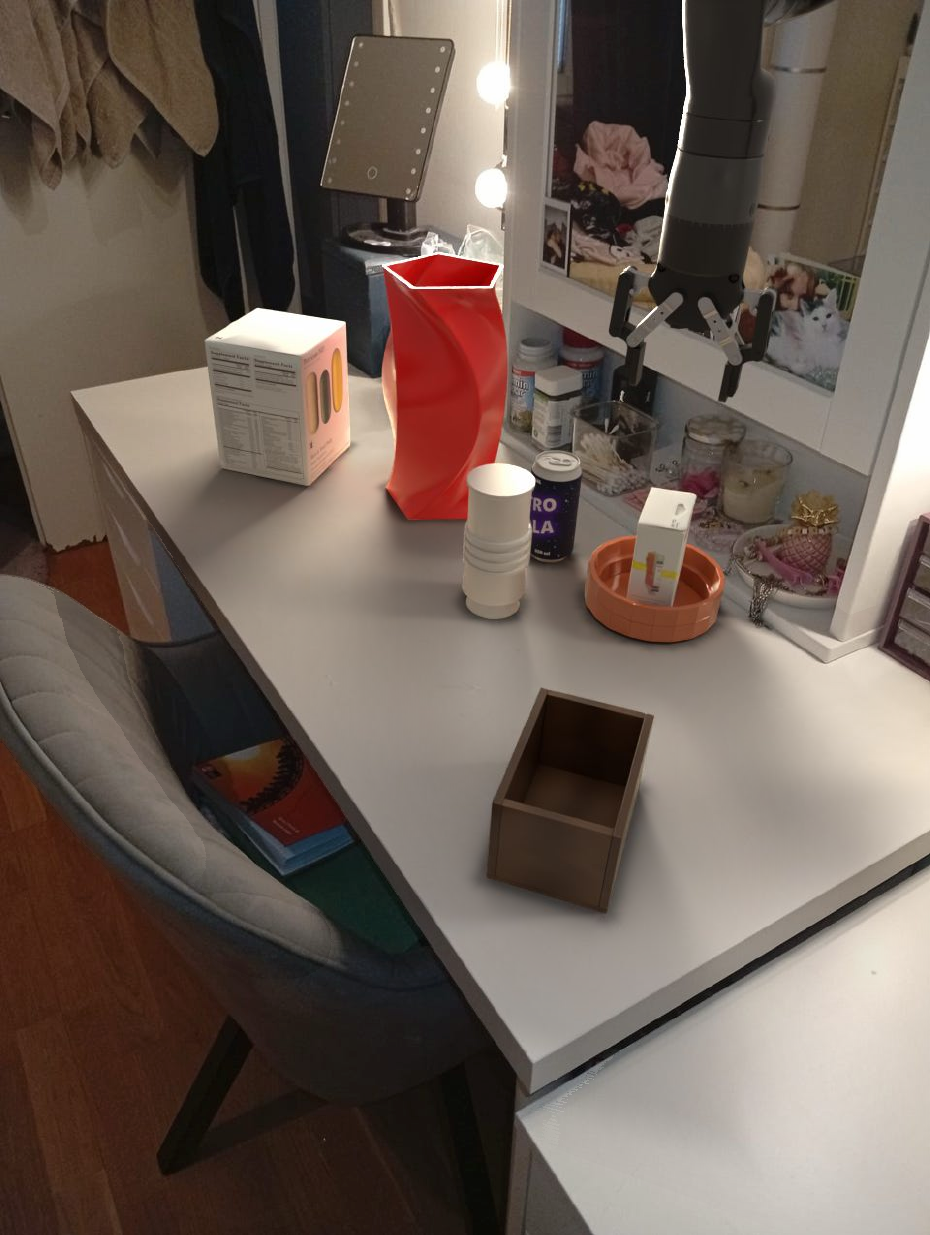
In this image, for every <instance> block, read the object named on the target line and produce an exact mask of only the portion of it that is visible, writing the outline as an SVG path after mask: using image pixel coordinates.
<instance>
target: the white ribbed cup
mask: <svg viewBox="0 0 930 1235" xmlns="http://www.w3.org/2000/svg"><path fill="white" fill-rule="evenodd" d="M467 485H468V487H469V500H468V519H466V521H465V523H464V525H463V532H464V533H463V546H462V548H463V549H462V550H463V554H462V563H463V564H464V570H463V577H462V583H461V587H462V588H461V590H462V591H463V593H464V594H465V596H466V599H465V606H466V608H467V610H468V611H470V612H471V613H472V614H474V615H476V616H477V617H480V618H482V619H483V618H484V619H488V620H500V619H505V618H509V617H511V616H513V615H514V614H516V613H517V612H518V611H519V609H520V606H521V603H520V602H521V601H520V600H521V599H522V598H523V596H525V593H526V582H527V581H526V569H527V568H528V565H529V564H530V558H531V554H530V549H531V538H532V527H531V525H530V523H529V517H530V506H531V495H532V491H533V490H534V487H535V478H534V476H533V475H532V474H531V471H529V470H527V469H525V468H523V467H521V466H517V465H514V464H509V463H500V462H497V463H496V462H495V463H493V464H485V465H482V466H478V467H476V468H474V469H472V470H471V471H470V472H469V473H468V475H467Z"/></svg>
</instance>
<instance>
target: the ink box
mask: <svg viewBox="0 0 930 1235" xmlns="http://www.w3.org/2000/svg"><path fill="white" fill-rule="evenodd" d="M697 497H698V495H697V494H695V493H693V492H686V491H678V490H673V489H672V490H671V489H665V488H660V487H654V486H651V488H650V491H649V493H648V496H647V499H646V501H645V503H644V506H643V509H642V511H641V514H640V516H639V519H638V522H637V530H636V535H637V536H636V543H635V549H634V555H633V561H632V567H631V573H630V579H629V586H628V592H627V598H628V599H630V600H632V601H635V602H639V603H643V604H648V605H653V606H662V607H673V603H674V598H675V594H676V589H677V585H678V581H679V576H680V572H681V567H682V562H683V557H684V552H685V548H686V543H687V542H688V536H689V533H690V527H691V523H692V516H693V511H694V506H695V505H696V500H697ZM687 544H688V543H687Z"/></svg>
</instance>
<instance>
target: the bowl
mask: <svg viewBox="0 0 930 1235" xmlns="http://www.w3.org/2000/svg"><path fill="white" fill-rule="evenodd" d="M636 536H637V534H635V535H628V536H627V535H626V536H621V537H619V536H618V537H616V538H614V539H611V540H608V541H605V542H603V543H602V544H601V545H600V546H598V547H597V548H596V549H595V550H593V552H592V554H591V556H590V558H589V559H588V564H587V570H586V578H585V586H584V592H583V593H584V600H585V606H586V607H587V609H588V610H589V611H590V613H591V614H592V616H593V617H594V618H595V619H596V620H597V621H599V622H600V623H601V624H603V625H604V626H605V627H607V629H610V630H612V631H615V632H617V633H619V634H621V635H624V636H626V637H629V638H633V639H636V640H641V641H645V642H649V643H650V642H652V643H676V642H682V641H688V640H691V639H694V638H696V637H699V636H700V635H702V634H705V633H707V632H708V631H709V629H710V628H711V627H712V626H713V625H714V624H715V623H716V621H717V618H718V614H719V608H720V605H721V602H722V601H721V600H722V596H723V593H724V588H725V584H726V577H725V575H724V572H723V568H722V567H721V565H719V563H718V562H716V560H715V559H714V558H713V557H712V556H711V555H710V554H708V553H706V552H705V551H703V550H702V549H700V548H699V547H697V546H694V545H692V544H689V543H686V548H685V552H684V557H683V562H682V567H681V572H680V576H679V581H678V585H677V589H676V594H675V598H674V603H673V607H662V606H653V605H648V604H643V603H639V602H635V601H632V600H630V599H628V598H627V592H628V586H629V579H630V573H631V567H632V561H633V555H634V549H635V543H636Z"/></svg>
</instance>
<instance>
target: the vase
mask: <svg viewBox="0 0 930 1235" xmlns="http://www.w3.org/2000/svg"><path fill="white" fill-rule="evenodd" d="M504 266H505V265H504V264H501V263H495V262H489V261H485V260H480V259H475V258H469V257H464V256H459V255H455V254H449V253H444V252H434V253H431V254H430V253H429V254H426V255H422V256H418V257H412V258H409V259H404V260H399V261H394V262H390V263H385V264H382V266H381V267H382V272H383V279H384V285H385V291H386V299H387V305H388V314H389V320H390V321H389V322H390V331H389V333H388V337H387V340H386V343H385V348H384V353H383V357H382V366H381V386H382V388H381V389H382V395H383V400H384V404H385V408H386V411H387V415H388V419H389V422H390V427H391V430H392V431H391V432H392V437H393V445H394V446H393V447H394V456H393V464H392V468H391V472H390V476H389V478H388V482H387V484H386V486H385V489H386V490H387V492H388V494H390V496H391V497H392V499H393V500H394V502H395V503H396V504H397V506H398V507H399V509H400V510H401V511H402V513H403V515H404V516H405V517H406V519H407V520H409V521H416V520H417V521H418V520H468V500H469V487H468V485H467V475H468V473H469V472H470V471H471V470H472V469H474V468H476V467H478V466H482V465H485V464H493V463H496V459H497V455H498V450H499V445H500V441H501V436H502V431H503V424H504V419H505V418H504V417H505V410H506V402H507V394H508V393H507V392H508V376H509V375H508V374H509V373H508V372H509V367H508V366H509V364H508V363H509V362H508V361H509V360H508V358H509V357H508V343H507V334H506V328H505V327H506V326H505V322H504V318H503V312H502V310H501V306H500V302H499V299H498V296H497V290H496V284H497V280H498V277H499V275H500V273H501V271H502V270H503V268H504Z"/></svg>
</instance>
